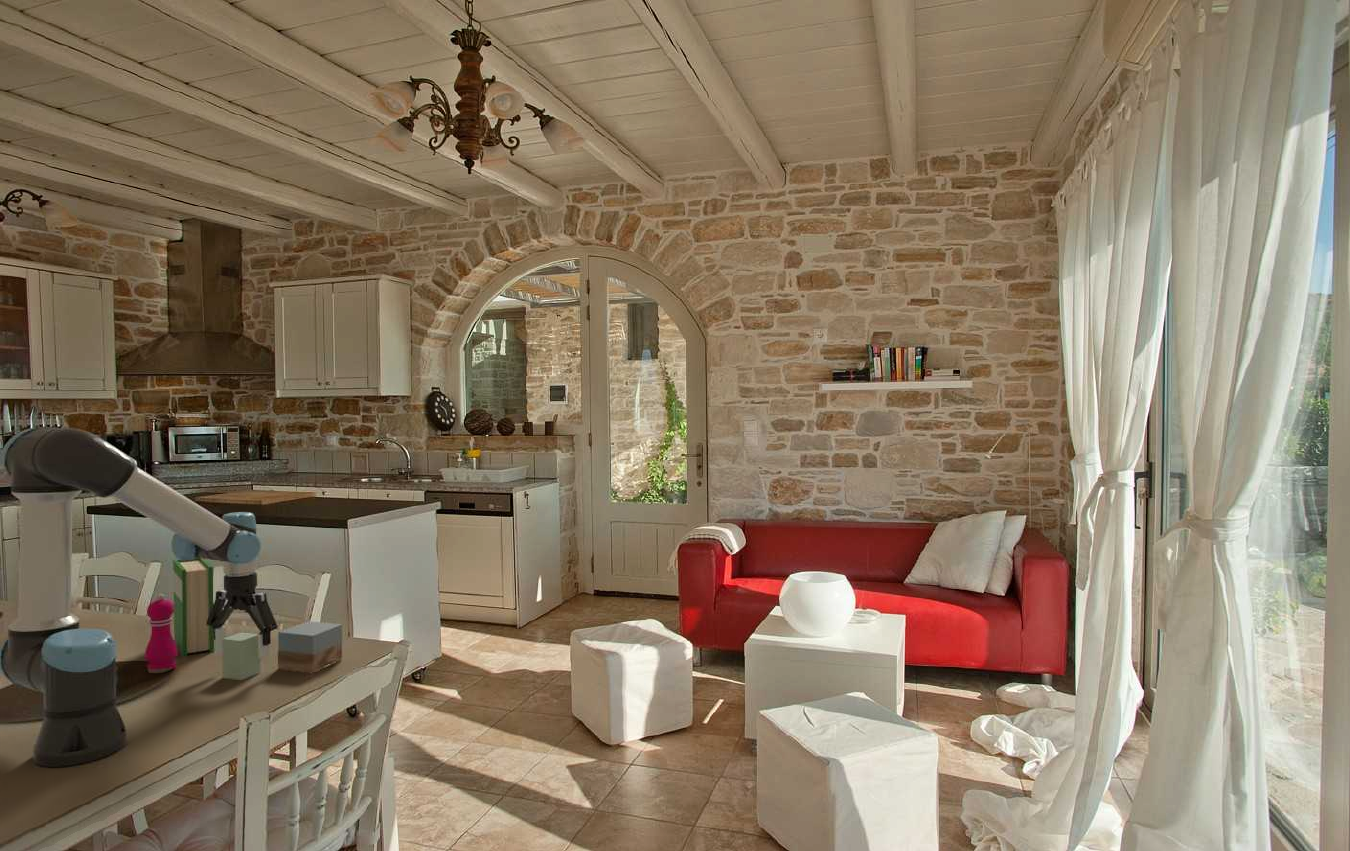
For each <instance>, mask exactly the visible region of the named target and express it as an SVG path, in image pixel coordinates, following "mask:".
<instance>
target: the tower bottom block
mask: <svg viewBox="0 0 1350 851" xmlns="http://www.w3.org/2000/svg"><path fill="white" fill-rule="evenodd" d="M341 659H342V660H343V642H342V643H340V644H338V645H336V646H333V647H331V648H329V649H326V650H324V651H322V652H319V653H317V654H314V655H309V654H300V653H291V652H282V651H278V650H277V670H279V669H281V670H280V671H287V670H292V671H291V672H296V671H301V672H300V673H304V672H312V673H313V672H315V673H317V672H318V671H317V670H319V669H321V668H323V667H324V666H326V665H328V664H332V663H334V662H337V661H339V660H341ZM337 663H338V662H337ZM282 669H284V670H282ZM316 671H317V672H316ZM312 673H311V674H312ZM313 674H314V673H313Z"/></svg>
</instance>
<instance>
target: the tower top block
mask: <svg viewBox="0 0 1350 851" xmlns="http://www.w3.org/2000/svg"><path fill="white" fill-rule="evenodd" d="M277 638H278V640H277V644H278V645H277V646H278V647H277V648H278V650H277V652H278V651H282V652H291V653H300V654H309V655H314V654H317V653H319V652H322V651H324V650H326V649H329V648H331V647H333V646H336V645H338V644H340V643H342V644H343V624H341V623H330V622H320V621H311V620H308V621H305V622H302V623H300V624H296V625H294V626H291V627H289V628H286V629H283V630H281V631H278V634H277Z"/></svg>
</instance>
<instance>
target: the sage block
mask: <svg viewBox="0 0 1350 851" xmlns="http://www.w3.org/2000/svg"><path fill="white" fill-rule="evenodd" d="M221 654H222V655H221V656H222V659H221V660H222V665H221V666H222V667H221V668H222V679H229V680H236V681H244V680H245V679H248V678H250V677H252V676H255V675H258V674H260V673H261V659H259V657H258V633H250V632H248V633H247V632H239V633H235V634H232V635H230V636H226V638H223V639H222V653H221Z"/></svg>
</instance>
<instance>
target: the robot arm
mask: <svg viewBox="0 0 1350 851" xmlns="http://www.w3.org/2000/svg"><path fill="white" fill-rule="evenodd" d="M0 460H1V465H2V467H3V469H4V471H5V472H6V473H7V474H8V476H10V477H11V479H10V481H11V484H10V486H11V488H10V490H11V491H10V492H11V493H10V494H12V495H13V496H14V497H15V498H17V500H19V501H20V502H19V503H20V513H19V516H20V518H19V519H20V521H19V522H20V523H19V564H18V565H19V567H18V568H19V571H18V576H19V577H18V611H17V612H18V616H17V618H16V619H15V620H14V621H13V622H11V623H10V625H8V632H7V638H6V640H4V642H2V644H1V645H0V673H1V675H2V676H3V677H4V678H5V679H6V680H8V681H10V683H12V684H14V685H17V687H19V688H25V689H30V690H33V691H36V692H39V693H43V694H42V695H43V721H42V724H41V727H40V729H39V733H38V735H37V739H36V742H35V744H34V746H33V750H32V754H33V756H32V761H33V763H34V764H35V765H36V766H40V767H46V768H47V767H48V768H57V767H61V768H62V767H68V766H75V765H81V764H85V763H90V762H93V761H96V760H100V759H102V758H105V757H108V756H110V755H112V754H114V753H116V752H118V751H120V750H121V749H123V748H124V747H125V746H126V744H127V742H128V731H127V728H126V726H125V723H124V721H123V718H122V716H121V714H120V712H119V709H118V707H117V685H116V684H117V682H116V681H117V679H116V676H117V674H116V671H117V670H116V668H117V667H116V666H117V662H116V657H117V647H116V642H115V638H114V637H113V635H112V633H109V632H108V631H106V630H103V629H100V628H99V629H98V628H90V629H88V628H86V627H85V628H84V627H83V628H80V618H79V617H77V616H76V615H75V614H74V613H72V611H71V605H72V603H71V602H72V599H71V598H72V596H71V595H72V563H73V562H72V560H73V558H72V555H73V554H72V551H73V517H74V514H73V510H74V505H73V504H74V499H75V498H76V497H77V496H78V495H79V494H80V493H82V491H83V490H84V491H87V492H90V493H92V494H94V495H96V496H97V497H99V498H101V499H106V498H112V499H114V500H116V501H118V502H119V503H121V504H123V505H124V506H127V507H128V508H130V509H131V510H134V511H135V512H136V513H139V514H140V515H143V516H144V517H146V518H148V519H150V520H152V521H153V522H154V523H157V524H158V525H160V526H162V527H164V528H166V529H168V530H169V531H171V532H173V533H174V534H173V535H172V539H171V550H172V554H173V556H174V557H175V559H176V560H182V561H184V560H194V559H197V558H204V559H205V560H211V561H212V560H213V561H217V562H218V561H219V562H223V564H222V566H223V568H222V571H223V572H222V573H223V574H225V575H224V576H223V589H220V590H217V591H215V598H214V601H213V607H212V609H211V612H210V615H209V617H208V620H207V622H206V624H207V625H208V626H209V625H211V626H212V628H214V644H215V655H220V654H222V639H223V638H226V637H227V626H225V625H226V624H225V623H226V622H227V620H228V619H229V618H230V616H231V615H232V613H233V612H234V610H239V611H244V612H245V613H247V614H248V615H249V617H250V619H251V620H252V621H253V623H254V624H255V626H256V627H257V628H258V630H259V633H257V634H258V657H259V659H260V660H262V659H265V658H267V657H270V645H271V632H272V631H274V630H277V629H278V624H277V621H276V620H275V616H274V615H273V612H272V609H271V608H270V605H269V602H268V599H267V598H268V597H267V593H266V592H259V593H256V588H257V586H258V574H257V572H256V571H257V569H258V567H257V558H258V557H259V556H258V555H259V554H260V552H261V548H262V547H261V546H262V545H261V540H260V538H259V537H258V535H257V521H256V516H255V514H254V513H253V512H248V511H238V512H229V513H226V514H223V515H222V518H220V517H219V516H217V515H215V514H214V513H212V512H211V511H209V510H207V509H206V508H204V507H202V506H201V505H199V504H198V503H196V502H195V501H193V500H191V499H189V498H188V497H186V496H185V495H183V494H181V493H180V492H178V491H177V490H175V489H173V488H171V487H170V486H169V485H167V484H165V483H164V482H162V481H160V480H159V479H157V478H155V477H154V476H152V475H151V474H149V473H148V472H146V471H144V470H142V469H141V468H140V467H138V464H137V463H138V462H137V460H135V459H134V458H133V457H131V456H130V455H128V454H126V453H125V452H123V451H122V450H120V449H119V448H117V447H116V446H114V445H113V444H111V443H110V442H108V441H105V440H104V439H103V438H101V437H99V436H97V435H96V434H93V433H91V432H89V431H86V430H84V429H80V428H72V427H65V428H64V427H50V426H41V427H34V428H33V427H32V428H28V429H24V430H22V431H20V432H17V433H16V434H15V435H14V436H12V437H10V438H9V440H8V441H7V442H6V444H5V445H4V447H3V449H2V452H1V459H0Z"/></svg>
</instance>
